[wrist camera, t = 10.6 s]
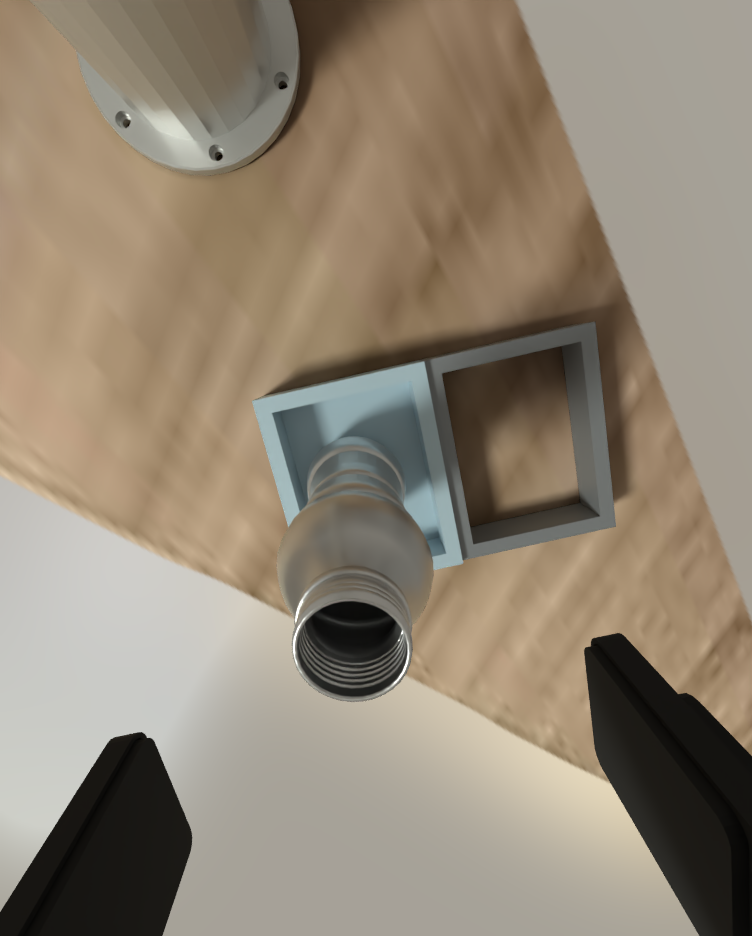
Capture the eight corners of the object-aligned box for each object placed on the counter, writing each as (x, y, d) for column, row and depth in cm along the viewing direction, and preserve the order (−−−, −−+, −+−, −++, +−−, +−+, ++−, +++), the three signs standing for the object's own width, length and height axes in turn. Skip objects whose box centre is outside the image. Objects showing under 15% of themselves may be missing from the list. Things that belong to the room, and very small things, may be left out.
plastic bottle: (358, 410, 32) (355, 500, 13) (421, 480, 33) (505, 658, 14) (291, 471, 33) (192, 642, 13) (355, 536, 34) (348, 777, 15)
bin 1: (263, 395, 32) (252, 400, 29) (417, 360, 32) (424, 361, 28) (313, 574, 35) (308, 597, 32) (453, 543, 35) (463, 563, 32)
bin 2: (417, 360, 32) (423, 361, 29) (573, 324, 32) (595, 321, 29) (453, 543, 35) (461, 560, 32) (594, 512, 35) (615, 526, 32)
